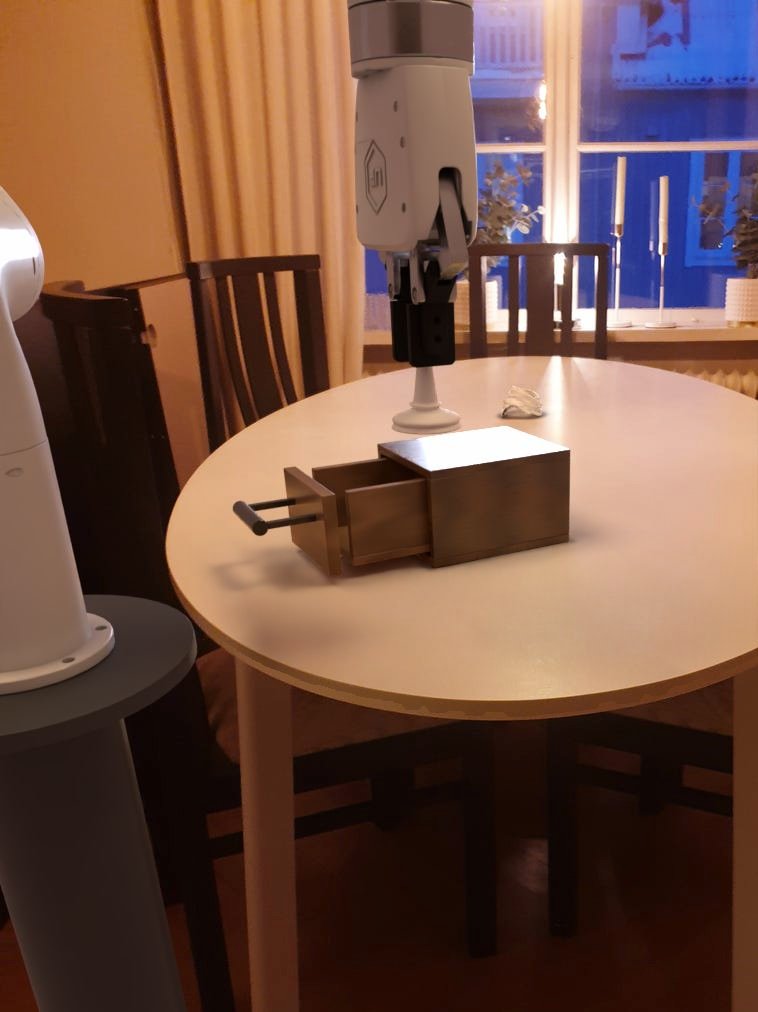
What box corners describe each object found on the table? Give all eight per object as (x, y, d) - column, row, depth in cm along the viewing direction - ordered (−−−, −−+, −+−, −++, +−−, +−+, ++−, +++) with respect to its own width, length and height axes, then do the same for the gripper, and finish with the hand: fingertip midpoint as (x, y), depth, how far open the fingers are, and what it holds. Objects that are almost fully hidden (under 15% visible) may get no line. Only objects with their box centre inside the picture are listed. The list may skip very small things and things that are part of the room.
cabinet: (434, 568, 86) (429, 471, 82) (383, 531, 96) (376, 443, 92) (569, 541, 92) (570, 449, 88) (507, 509, 102) (506, 425, 98)
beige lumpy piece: (504, 415, 152) (501, 385, 151) (545, 411, 151) (542, 380, 150) (499, 422, 145) (496, 390, 143) (542, 418, 144) (539, 385, 142)
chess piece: (451, 418, 69) (448, 272, 64) (469, 431, 64) (466, 276, 60) (385, 422, 67) (377, 274, 63) (399, 437, 63) (391, 279, 59)
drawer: (266, 589, 79) (255, 507, 76) (233, 551, 89) (222, 476, 86) (467, 550, 87) (464, 473, 84) (418, 519, 97) (414, 449, 93)
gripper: (312, 63, 61) (334, 353, 69) (404, 21, 48) (418, 384, 56) (417, 69, 64) (427, 346, 72) (530, 30, 51) (528, 374, 59)
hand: (423, 360), depth 64 cm, fingers closed on chess piece
